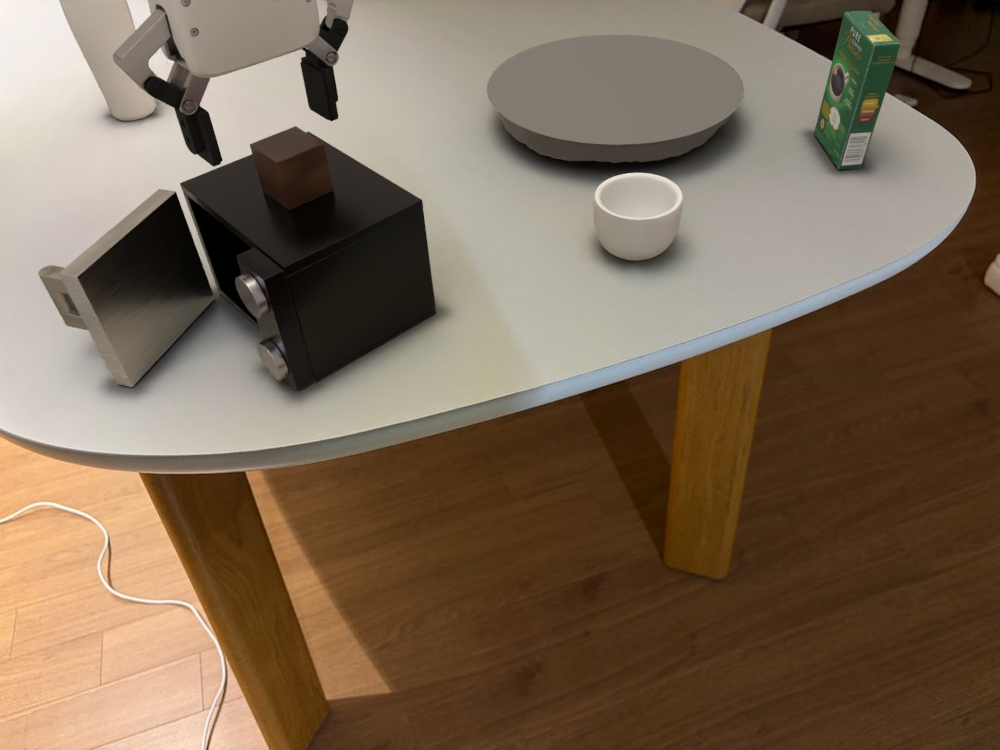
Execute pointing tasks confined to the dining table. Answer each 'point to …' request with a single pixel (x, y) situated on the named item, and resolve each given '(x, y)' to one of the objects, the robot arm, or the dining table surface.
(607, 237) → the teacup
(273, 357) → the microwave
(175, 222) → the microwave door
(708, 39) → the dining table surface
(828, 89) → the coffee box
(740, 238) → the dining table surface
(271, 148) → the block
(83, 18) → the white tapered cylinder
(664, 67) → the flat disc
